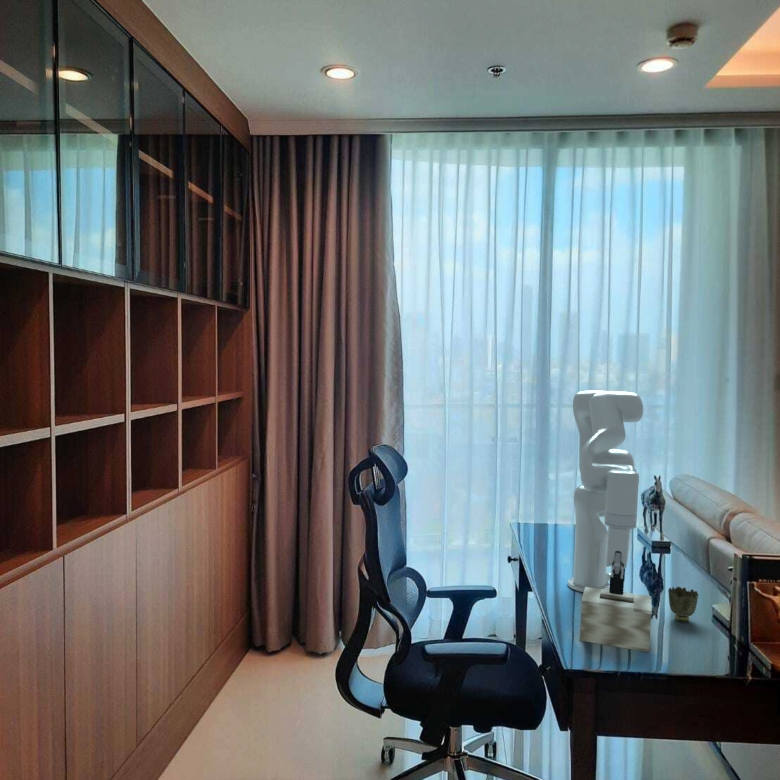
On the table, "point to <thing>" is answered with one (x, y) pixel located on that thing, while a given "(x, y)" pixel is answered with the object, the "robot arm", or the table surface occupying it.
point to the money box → (616, 619)
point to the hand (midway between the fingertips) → (617, 587)
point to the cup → (682, 603)
